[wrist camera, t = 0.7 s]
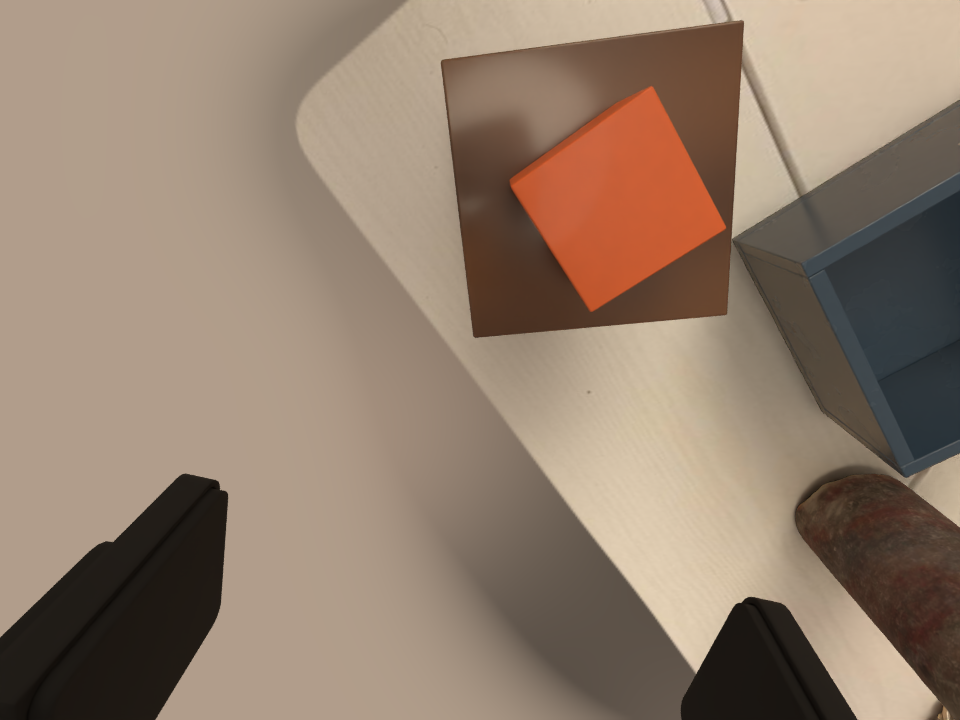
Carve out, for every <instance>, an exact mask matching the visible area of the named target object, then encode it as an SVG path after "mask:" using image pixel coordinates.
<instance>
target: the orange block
mask: <svg viewBox="0 0 960 720" xmlns="http://www.w3.org/2000/svg"><path fill="white" fill-rule="evenodd" d="M509 181H510V186H511V189H512V190H513V192H514V194H515V195H516V197H517V198H518V200H519V201H520V203H521V205H522V206H523V208H524V209H525V211H526V212H527V214H528V215H529V217H530V219H531V220H532V222H533V223H534V225H535V226H536V228H537V230H538V231H539V233H540V234H541V236H542V237H543V239H544V241H545V242H546V244H547V245H548V247H549V248H550V250H551V252H552V253H553V255H554V256H555V258H556V259H557V261H558V263H559V264H560V266H561V267H562V269H563V270H564V272H565V274H566V275H567V277H568V278H569V280H570V281H571V283H572V285H573V286H574V288H575V289H576V291H577V292H578V294H579V295H580V297H581V299H582V300H583V302H584V303H585V305H586V306H587V308H588V310H589V311H590V312H593V311H595V310H596V309H598V308H599V307H601V306H603V305H604V304H606V303H608V302H609V301H611V300H612V299H614V298H616V297H617V296H619V295H620V294H622V293H624V292H625V291H627V290H629V289H630V288H632V287H633V286H635V285H637V284H638V283H640V282H641V281H643V280H645V279H646V278H648V277H650V276H651V275H653V274H654V273H656V272H658V271H659V270H661V269H662V268H664V267H666V266H667V265H669V264H671V263H672V262H674V261H675V260H677V259H679V258H680V257H682V256H683V255H685V254H687V253H688V252H690V251H692V250H693V249H695V248H696V247H698V246H700V245H701V244H703V243H704V242H706V241H708V240H709V239H711V238H713V237H714V236H716V235H717V234H719V233H721V232H722V231H724V230H725V229H726V226H725V224H724V222H723V220H722V218H721V216H720V214H719V212H718V210H717V208H716V207H715V205H714V203H713V201H712V199H711V197H710V195H709V193H708V191H707V189H706V187H705V185H704V184H703V182H702V180H701V178H700V176H699V174H698V172H697V170H696V168H695V166H694V164H693V162H692V161H691V159H690V157H689V155H688V153H687V151H686V149H685V147H684V145H683V143H682V141H681V139H680V137H679V136H678V134H677V132H676V130H675V128H674V126H673V124H672V122H671V120H670V118H669V116H668V114H667V113H666V111H665V109H664V107H663V105H662V103H661V101H660V99H659V97H658V95H657V93H656V91H655V90H654V88H653V87H652V86H650V87H648V88H646V89H643V90H641V91H639V92H637V93H635V94H633V95H631V96H629V97H627V98H625V99H623V100H621V101H619V102H617V103H615V104H614V105H613V106H611V107H610V108H608V109H607V110H606V111H604V112H603V113H601V114H600V115H599V116H597V117H596V118H594V119H593V120H592V121H590V122H589V123H587V124H586V125H585V126H583V127H582V128H580V129H579V130H578V131H576V132H575V133H574V134H572V135H571V136H569V137H568V138H567V139H565V140H564V141H562V142H561V143H560V144H558V145H557V146H555V147H554V148H553V149H551V150H550V151H548V152H547V153H546V154H544V155H543V156H541V157H540V158H539V159H537V160H536V161H534V162H533V163H532V164H530V165H529V166H527V167H526V168H525V169H523V170H522V171H521V172H519V173H518V174H516V175H515V176H514V177H512V178H511V179H510V180H509Z"/></svg>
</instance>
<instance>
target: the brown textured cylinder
mask: <svg viewBox="0 0 960 720" xmlns="http://www.w3.org/2000/svg"><path fill="white" fill-rule="evenodd" d="M796 524H797V528H798V530H799V533H800V534H801V536H802V538H803V539H804V540H805V542H806V543H807V544H808V545H809V547H810V548H811V549H812V550H813V551H814V553H815V554H816V555H817V556H818V557H819V558H820V560H821V561H822V562H823V563H824V565H825V566H826V567H827V568H828V569H829V571H830V572H831V573H832V574H833V575H834V577H835V578H836V579H837V580H838V581H839V582H840V584H841V585H842V586H843V587H844V588H845V589H846V591H847V592H848V593H849V594H850V595H851V597H852V598H853V599H854V600H855V601H856V602H857V604H858V605H859V606H860V607H861V608H862V609H863V611H864V612H865V613H866V614H867V615H868V617H869V618H870V619H871V620H872V621H873V623H874V624H875V625H876V626H877V627H878V628H879V629H880V631H881V632H882V633H883V634H884V635H885V636H886V637H887V639H888V640H889V641H890V642H891V643H892V645H893V646H894V647H895V648H896V650H897V651H898V652H899V653H900V655H901V656H902V657H903V658H904V659H905V660H906V662H907V663H908V664H909V665H910V666H911V667H912V669H913V670H914V671H915V672H916V674H917V675H918V676H919V677H920V679H921V680H922V681H923V682H924V684H925V685H926V686H927V687H928V688H929V689H930V690H931V691H932V693H933V694H934V695H935V696H936V697H937V699H938V700H939V701H940V702H941V703H942V704H943V706H944V707H945V708H946V709H947V711H948V712H949V713H950V714H951V715H952V717H953V718H954V719H955V720H960V528H959V527H958V526H957V525H956V524H955V523H953V522H952V521H951V520H950V519H948V518H947V517H946V516H944V515H943V514H942V513H940V512H939V511H938V510H937V509H935V508H934V507H933V506H932V505H930V504H929V503H928V502H926V501H925V500H924V499H922V498H921V497H920V496H919V495H917V494H916V493H915V492H914V491H912V490H911V489H910V488H908V487H907V486H906V485H904V484H903V483H901V482H900V481H898V480H896V479H895V478H893V477H891V476H886V475H882V474H881V475H877V474H865V475H859V474H857V475H850V476H848V477H845V478H843V479H841V480H838V481H834V482H830V483H826V484H823V485H822V486H821V487H820V488H819V489H818V490H817V491H816V492H815V493H813V494H812V496H811V497H810V498H808V499H807V500H806V501H805V502H803V503H802V504H800V505H799V507H798V509H797V511H796Z"/></svg>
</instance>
